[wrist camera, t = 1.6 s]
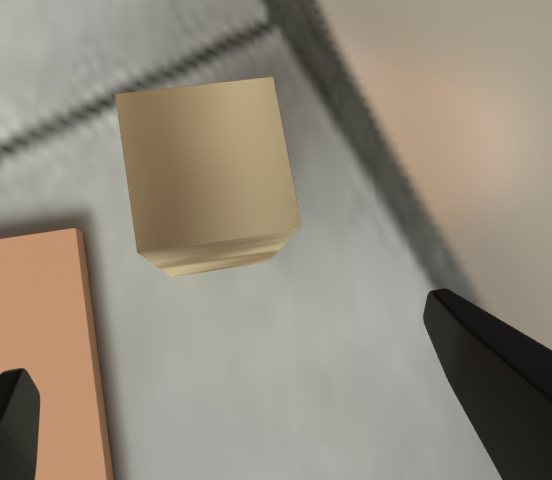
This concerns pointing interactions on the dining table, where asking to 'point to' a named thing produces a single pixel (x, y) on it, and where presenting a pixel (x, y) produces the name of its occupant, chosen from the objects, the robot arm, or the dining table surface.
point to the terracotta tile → (56, 350)
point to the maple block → (207, 175)
